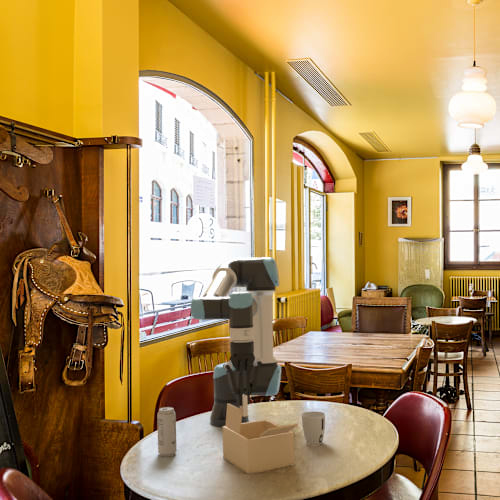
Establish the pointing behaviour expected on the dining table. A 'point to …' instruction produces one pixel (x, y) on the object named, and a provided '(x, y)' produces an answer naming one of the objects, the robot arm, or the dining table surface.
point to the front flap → (278, 430)
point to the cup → (313, 427)
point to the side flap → (234, 418)
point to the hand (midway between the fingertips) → (243, 415)
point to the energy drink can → (166, 431)
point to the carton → (258, 447)
